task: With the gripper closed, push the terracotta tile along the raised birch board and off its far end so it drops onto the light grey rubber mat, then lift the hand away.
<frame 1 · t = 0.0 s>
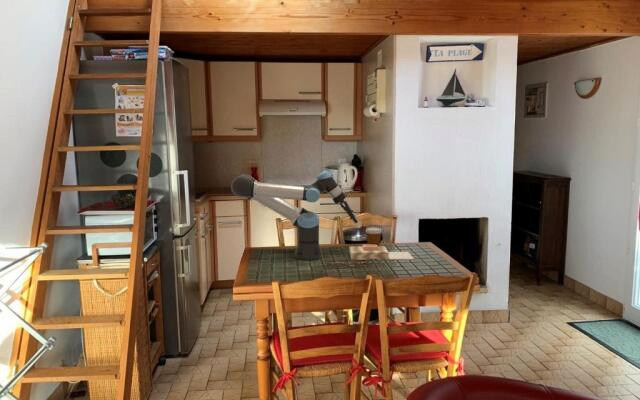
hand: (358, 224, 276), 15 cm above the table, tool tilted 35°, fingers open, 13 cm apart
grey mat: (399, 256, 265), on the table
terracotta tile: (370, 249, 264), point 4 cm above the table, touching birch board
birch board: (368, 256, 265), on the table
disposable coffee cup: (373, 249, 282), on the table
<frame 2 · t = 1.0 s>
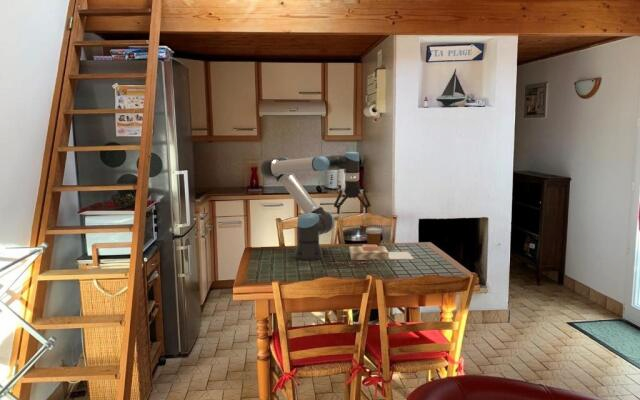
hand: (352, 219, 262), 21 cm above the table, tool pointing down, fingers open, 12 cm apart
nothing on the table moved.
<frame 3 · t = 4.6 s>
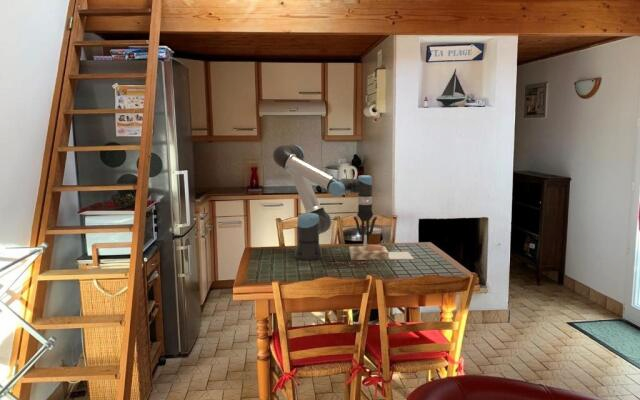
hand: (365, 246, 264), 6 cm above the table, tool pointing down, fingers closed
terracotta tile: (373, 249, 264), point 4 cm above the table, touching gripper
everything else where it was.
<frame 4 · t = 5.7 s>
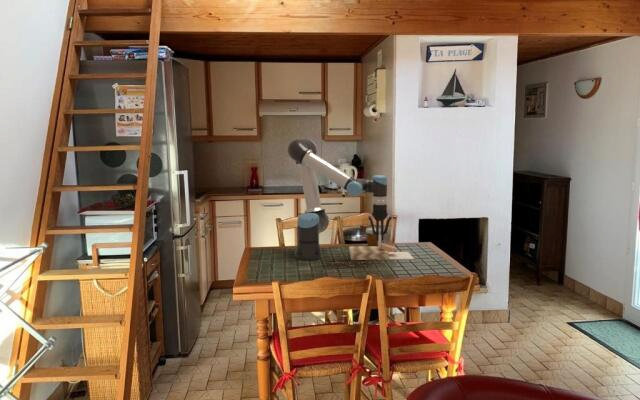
hand: (379, 246, 264), 6 cm above the table, tool pointing down, fingers closed
terracotta tile: (387, 249, 264), point 4 cm above the table, tilted 15°, touching gripper
everything else where it was.
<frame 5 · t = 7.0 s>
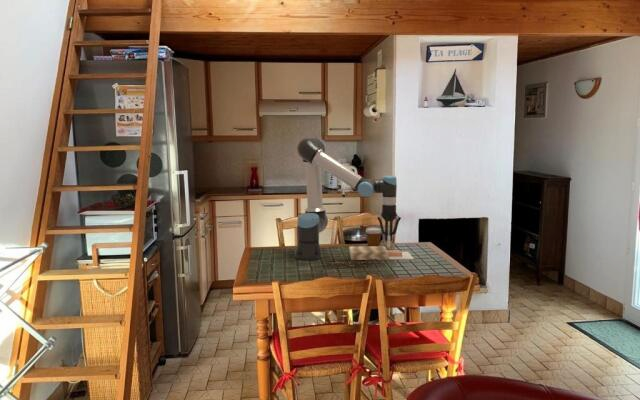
hand: (388, 246, 264), 5 cm above the table, tool pointing down, fingers closed
terracotta tile: (394, 255, 265), point 1 cm above the table, touching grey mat
everything else where it was.
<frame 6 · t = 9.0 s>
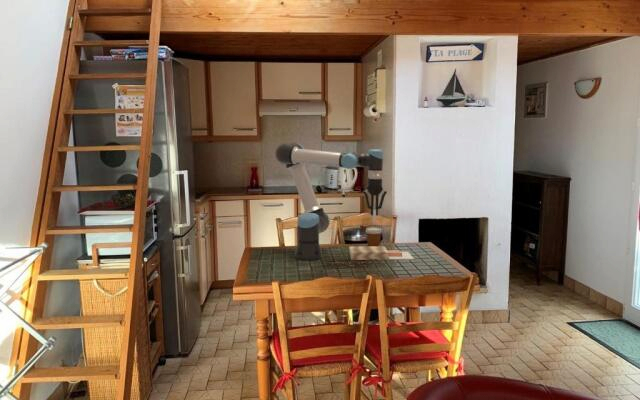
hand: (374, 221, 262), 20 cm above the table, tool pointing down, fingers closed
nothing on the table moved.
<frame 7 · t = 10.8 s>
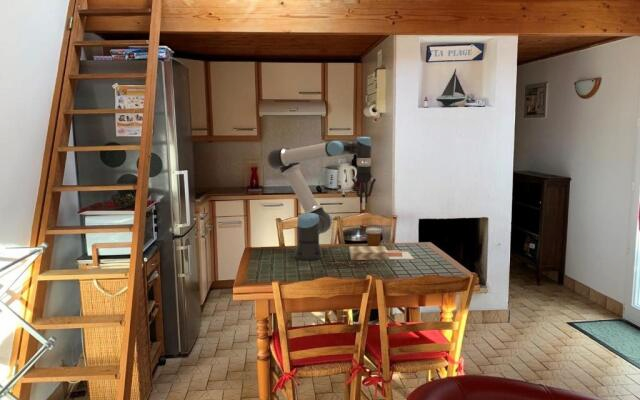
hand: (363, 209, 261), 26 cm above the table, tool pointing down, fingers closed
nothing on the table moved.
at the end: terracotta tile inside the target area on the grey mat (3.1 cm from its centre), point 0.6 cm above the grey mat's base; terracotta tile point 0.6 cm above the table; the gripper is holding nothing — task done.
